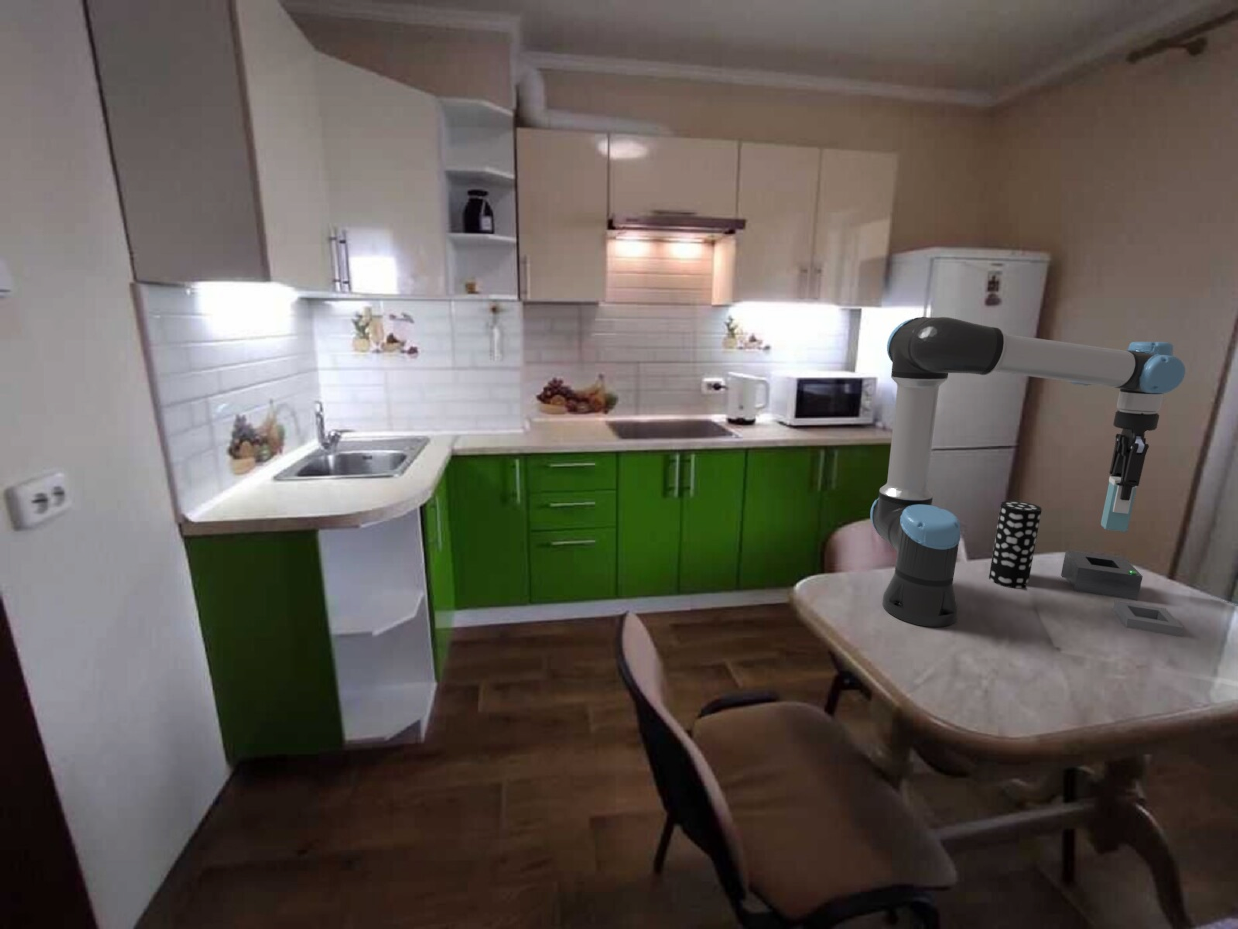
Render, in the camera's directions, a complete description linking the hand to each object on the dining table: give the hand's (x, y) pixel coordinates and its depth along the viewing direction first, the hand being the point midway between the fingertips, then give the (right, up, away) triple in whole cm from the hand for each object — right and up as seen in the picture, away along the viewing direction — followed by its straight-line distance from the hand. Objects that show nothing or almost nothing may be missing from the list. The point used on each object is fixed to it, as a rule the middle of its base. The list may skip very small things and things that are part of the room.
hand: (1117, 509), depth 138 cm
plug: (0, -5, +1) cm, 5 cm away
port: (0, -20, +6) cm, 21 cm away
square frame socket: (-4, -24, -12) cm, 27 cm away
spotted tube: (-19, -19, +10) cm, 29 cm away
